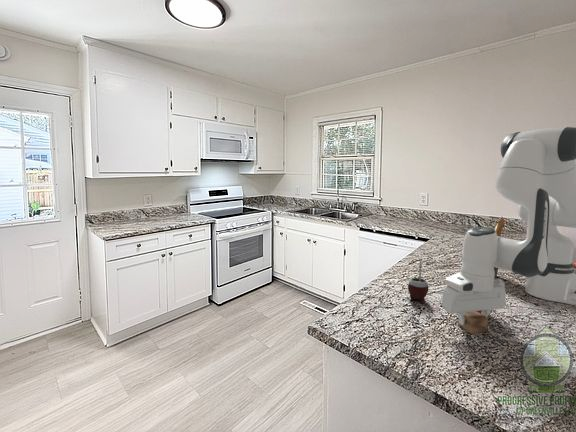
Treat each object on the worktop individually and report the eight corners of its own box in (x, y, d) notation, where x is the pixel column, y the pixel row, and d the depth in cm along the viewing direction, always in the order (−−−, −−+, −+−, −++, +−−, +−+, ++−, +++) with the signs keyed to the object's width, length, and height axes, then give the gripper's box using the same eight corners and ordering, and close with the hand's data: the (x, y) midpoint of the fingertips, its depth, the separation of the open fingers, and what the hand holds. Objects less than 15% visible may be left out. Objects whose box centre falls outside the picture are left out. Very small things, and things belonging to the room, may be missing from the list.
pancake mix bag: (503, 274, 142) (510, 216, 138) (492, 285, 129) (499, 221, 125) (487, 271, 147) (493, 215, 143) (475, 280, 134) (481, 219, 130)
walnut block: (472, 322, 97) (473, 309, 96) (486, 331, 91) (487, 317, 91) (457, 324, 96) (458, 311, 95) (471, 333, 90) (472, 319, 90)
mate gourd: (415, 305, 109) (418, 265, 107) (402, 296, 117) (404, 259, 115) (432, 303, 111) (435, 264, 109) (418, 294, 119) (420, 258, 117)
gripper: (495, 274, 96) (491, 315, 98) (440, 279, 92) (436, 321, 94) (514, 281, 90) (509, 324, 92) (455, 286, 86) (451, 331, 88)
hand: (472, 323), depth 93 cm, fingers closed on walnut block, 5 cm apart
